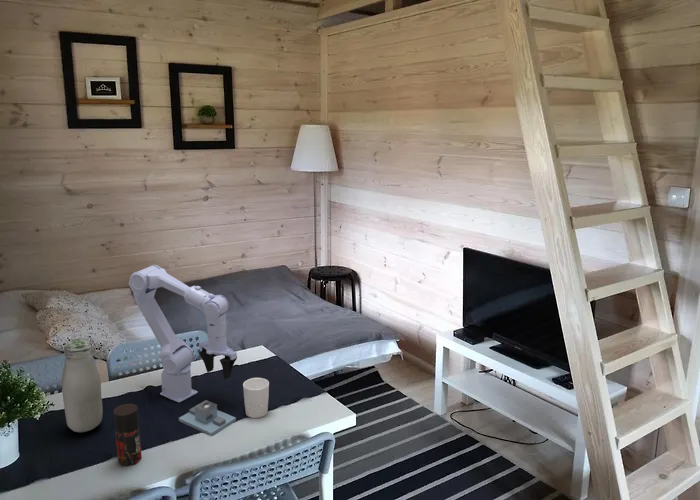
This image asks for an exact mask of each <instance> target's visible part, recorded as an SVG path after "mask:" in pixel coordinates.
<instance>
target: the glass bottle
mask: <svg viewBox="0 0 700 500" xmlns="http://www.w3.org/2000/svg"><path fill="white" fill-rule="evenodd" d="M63 349H64V351H63V355H64V357H65V358H64V366H63V370H62V374H61V389H62V390H61V391H62V392H61V393H62V401H63V406H64V408H63V409H64V413H65V419H66V420H65V422H66V426H67V427H68V428H69V429H70V430H71V431H73V432H75V433H85V432H89V431H92V430H94V429H95V428H96V427H98V426H99V425H100V424H101V422H102V419H103V413H104V411H103V400H102V398H103V397H102V381H101V376H100V373H99V370H98V368H97V366H96V363H95V360H94V356H93V352H94V350H93V346H92V343H91V341H90V340H88V338H82V337H81V338H80V337H79V338H76V339H72V340H69V341H68V342H67V343H66V344H65V345H64V347H63Z"/></svg>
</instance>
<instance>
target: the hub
mask: <svg viewBox="0 0 700 500" xmlns="http://www.w3.org/2000/svg"><path fill="white" fill-rule="evenodd" d="M205 405H209V407H208V408H206V409H205V408H204V406H205ZM194 407H195V420H198V421H200V422H202V423H204V424H207V423H209V422H211V421H212V420H213V419H215V418H216V417H217V410H218V404H217V403H215V402H212V401H209V400H207V399H205V400H204V401H202V402H200V403H198V404H196V405H195V406H194Z"/></svg>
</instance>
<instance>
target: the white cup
mask: <svg viewBox="0 0 700 500" xmlns="http://www.w3.org/2000/svg"><path fill="white" fill-rule="evenodd" d="M242 387H243V398H244V399H243V400H244V407H245V415H246V416H247V417H248V418H252V419H260V418H263V417H265V416H266V415H267V414H268V409H269V408H268V407H269V398H270V397H269V393H270V391H269V390H270V381H269V380H268V379H266V378H263V377H251V378H249V379H247V380H245V381H244V382H243V384H242Z"/></svg>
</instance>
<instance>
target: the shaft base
mask: <svg viewBox="0 0 700 500" xmlns="http://www.w3.org/2000/svg"><path fill="white" fill-rule="evenodd" d="M208 407H209V405H205V406H204V408H205V409H206V408H208ZM188 410H189V412H186V413H185V414H184V415H181V416H180V417H178V422H180V423H181V424H184V425H186V426H188V427H190V428H193V429H195V430H197V431H199V432H200V433H203V434H206V435H208V436H210V437H213V436H214V435H216V434H218V433H219V432H221V431H223V430H224V429H225V428H226V427H228V426H230V425H232V424H234V423H235V422H236V421H237V418H236V416H232V415H230V414H228V413H226V412H223V411H220V410H218V409H217V417H216V418H215V419H213V420H212V421H211V422H209V423H207V424H204V423H202V422H200V421H198V420H195V406H193V407H191V408H190V409H188Z"/></svg>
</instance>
